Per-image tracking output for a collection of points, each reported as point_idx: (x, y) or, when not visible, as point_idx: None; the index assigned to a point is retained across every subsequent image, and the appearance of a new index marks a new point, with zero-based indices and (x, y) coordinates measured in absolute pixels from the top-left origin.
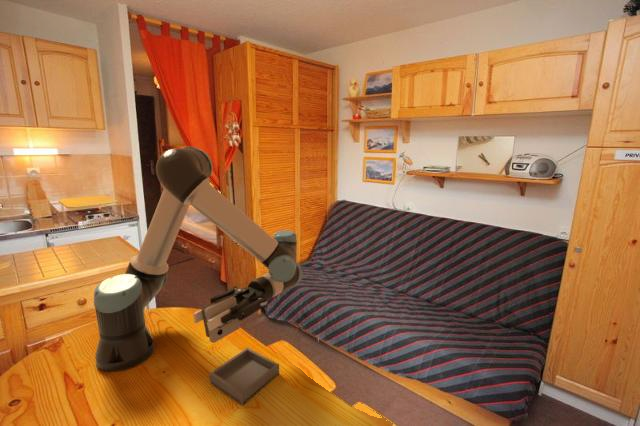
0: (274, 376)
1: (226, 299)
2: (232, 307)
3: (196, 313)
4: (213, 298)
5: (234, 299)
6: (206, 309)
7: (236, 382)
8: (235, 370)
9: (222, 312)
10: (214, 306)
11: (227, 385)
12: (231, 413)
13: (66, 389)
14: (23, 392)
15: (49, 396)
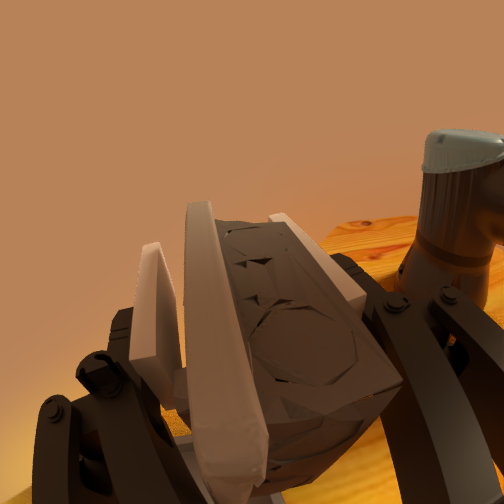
0: None
1: (218, 311)
2: (107, 364)
3: (271, 219)
4: (452, 301)
5: (195, 443)
6: (197, 203)
7: (198, 477)
8: (249, 498)
9: (153, 306)
10: (187, 226)
11: (174, 437)
12: None
13: (372, 248)
14: (381, 225)
15: (364, 239)
